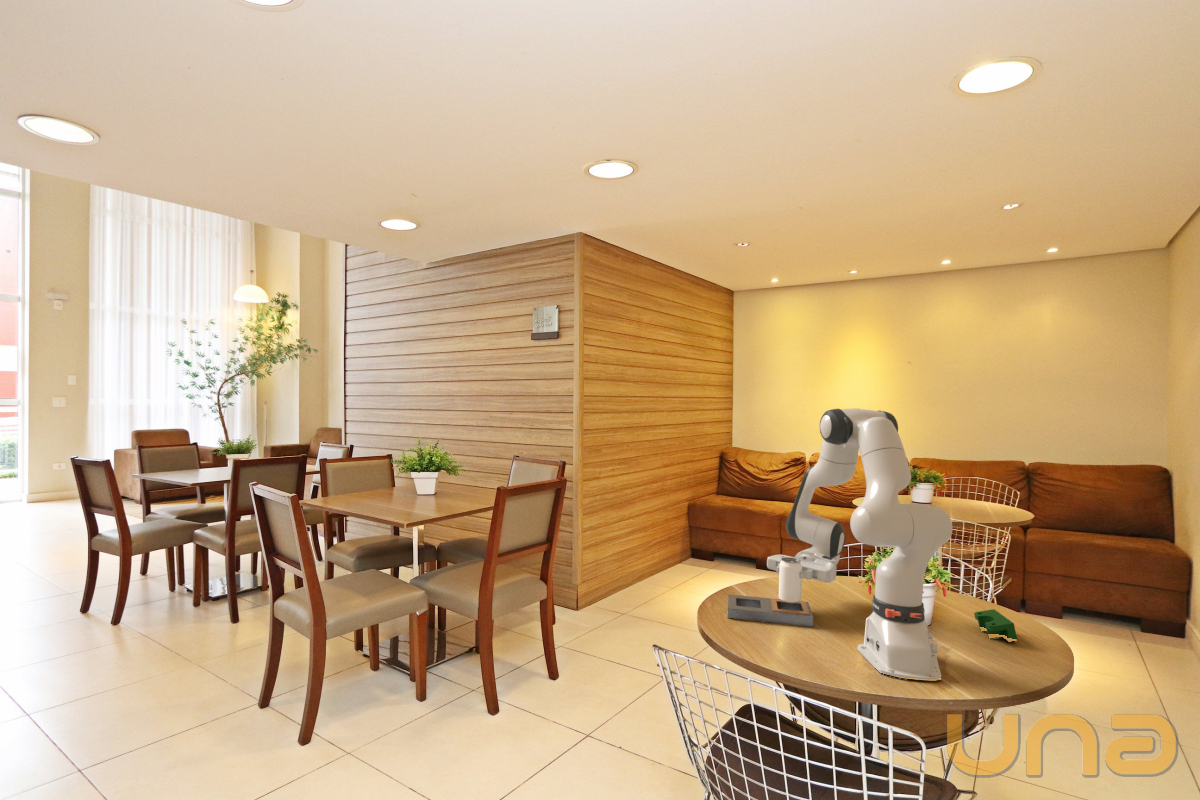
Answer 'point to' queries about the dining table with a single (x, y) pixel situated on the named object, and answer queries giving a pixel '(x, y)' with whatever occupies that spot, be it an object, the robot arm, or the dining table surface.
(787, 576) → the can
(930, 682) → the dining table surface
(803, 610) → the grey tray
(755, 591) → the dining table surface
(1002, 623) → the clamp
